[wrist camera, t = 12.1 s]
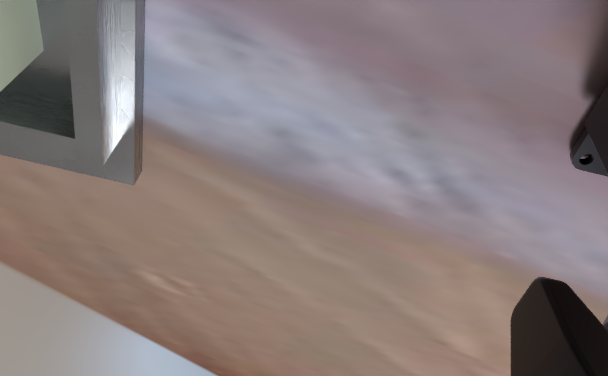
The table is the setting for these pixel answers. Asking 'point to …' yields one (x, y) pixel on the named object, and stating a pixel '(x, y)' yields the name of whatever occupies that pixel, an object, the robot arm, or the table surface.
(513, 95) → the table surface
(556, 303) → the robot arm
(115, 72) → the grey rectangular tray
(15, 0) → the sage block
